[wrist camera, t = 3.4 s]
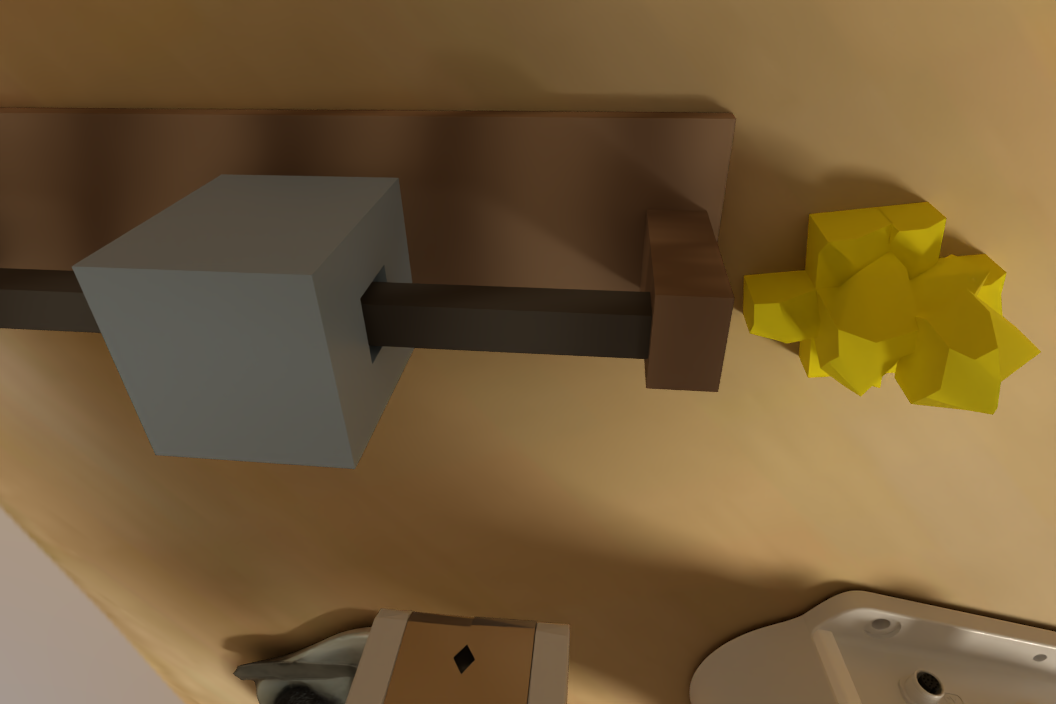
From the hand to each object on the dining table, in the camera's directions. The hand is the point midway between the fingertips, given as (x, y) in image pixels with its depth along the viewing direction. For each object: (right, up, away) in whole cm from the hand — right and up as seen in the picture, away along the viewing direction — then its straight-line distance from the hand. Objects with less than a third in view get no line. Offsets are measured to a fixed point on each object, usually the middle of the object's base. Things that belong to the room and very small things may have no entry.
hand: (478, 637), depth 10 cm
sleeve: (-6, +8, +12) cm, 16 cm away
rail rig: (-8, +9, +15) cm, 19 cm away
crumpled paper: (+13, +7, +13) cm, 20 cm away
